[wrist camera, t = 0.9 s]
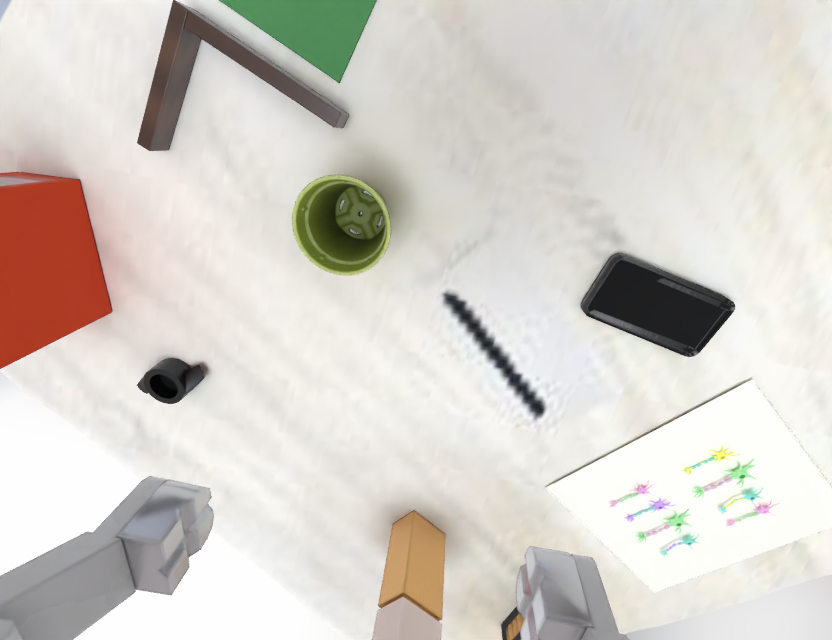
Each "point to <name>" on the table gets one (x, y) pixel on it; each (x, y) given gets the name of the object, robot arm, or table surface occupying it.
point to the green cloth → (311, 27)
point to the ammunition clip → (512, 626)
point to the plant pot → (341, 225)
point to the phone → (656, 305)
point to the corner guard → (178, 64)
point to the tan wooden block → (412, 582)
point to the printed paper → (701, 491)
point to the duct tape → (170, 380)
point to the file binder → (45, 264)
